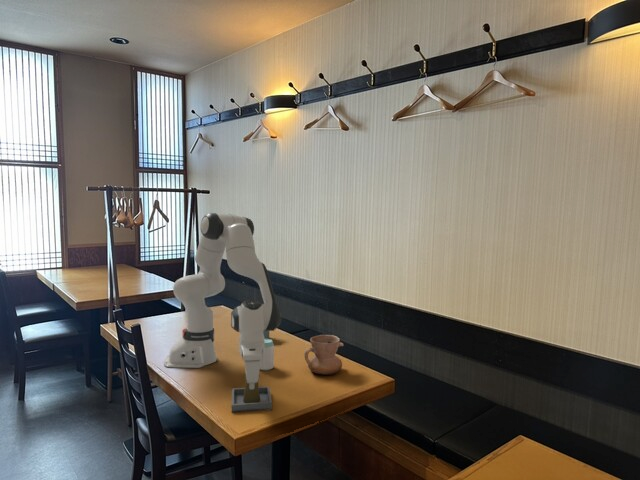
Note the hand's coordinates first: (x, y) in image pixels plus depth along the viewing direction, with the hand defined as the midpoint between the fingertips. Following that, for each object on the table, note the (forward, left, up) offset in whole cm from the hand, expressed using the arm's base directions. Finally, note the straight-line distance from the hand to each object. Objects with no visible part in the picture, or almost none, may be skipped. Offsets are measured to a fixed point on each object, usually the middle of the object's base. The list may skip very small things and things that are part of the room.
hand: (251, 385), depth 158 cm
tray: (0, 0, -6) cm, 6 cm away
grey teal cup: (+7, +73, -6) cm, 74 cm away
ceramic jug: (+31, +25, -6) cm, 40 cm away
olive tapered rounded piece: (0, 0, -6) cm, 6 cm away
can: (+7, +32, -6) cm, 33 cm away
